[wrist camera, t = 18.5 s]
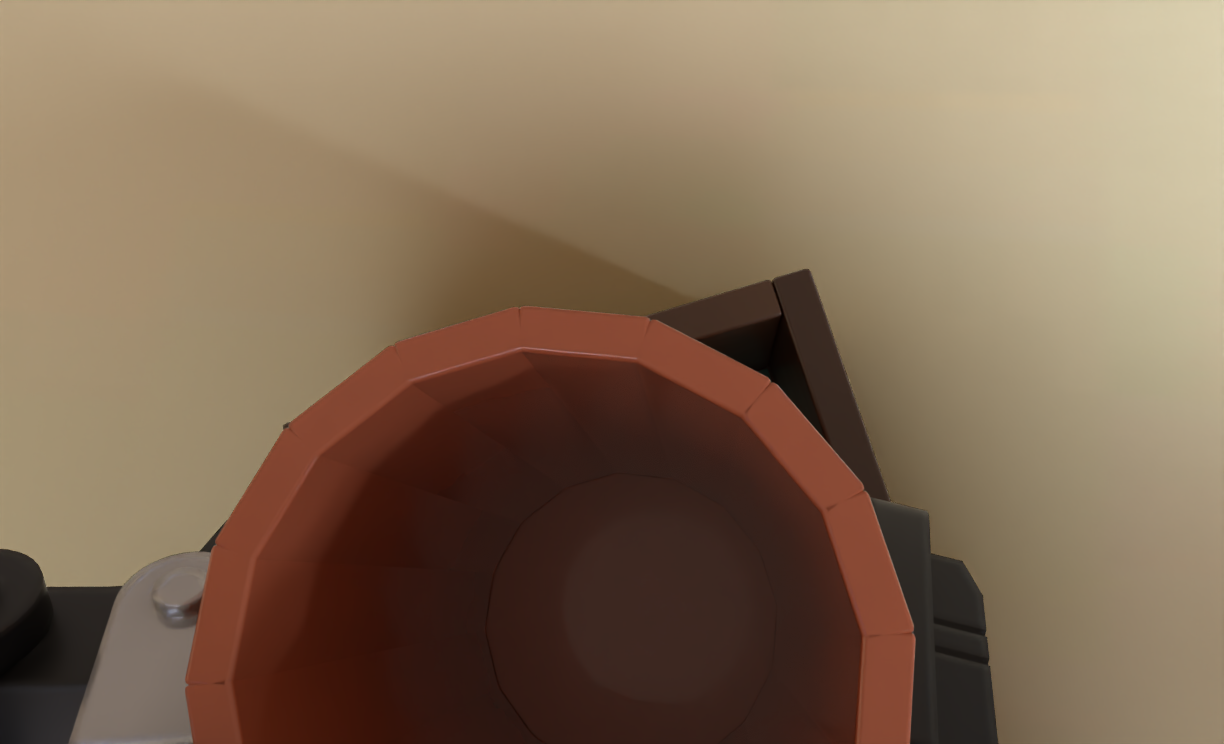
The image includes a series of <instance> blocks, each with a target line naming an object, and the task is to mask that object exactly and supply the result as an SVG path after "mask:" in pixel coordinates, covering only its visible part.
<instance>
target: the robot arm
mask: <svg viewBox="0 0 1224 744" xmlns="http://www.w3.org/2000/svg"><path fill="white" fill-rule="evenodd" d="M870 498H871V501H872V504H873V507H874V510H875V513H876V516H877V519H878V522H879V525H880V528H881V531H882V533H883V536H884V539H885V542H886V545H887V548H888V551H889V554H890V557H891V560H892V563H893V566H894V569H895V571H896V574H897V577H898V580H899V583H900V586H901V589H902V592H903V595H904V598H905V601H906V604H907V607H908V609H909V612H910V615H911V618H912V621H913V624H914V631H913V632H912V633H913V634H914V635H915V638H916V647H915V665H914V684H913V702H912V721H911V740H910V744H998V739H997V729H996V719H995V710H994V700H993V690H992V681H991V671H990V666H988V661H989V652H988V642H987V637H985V633H986V623H985V613H984V603H983V595H982V594H981V592H980V590H979V589H978V587H977V585H976V583H975V582H974V580H973V578H972V577H971V575H970V573H969V572H968V570H967V568H966V567H965V565H964V563H963V561H959V560H955V559H951V558H947V557H943V556H939V555H935V554H931V550H930V527H929V515H928V512H927V511H926V510H922V509H918V508H913V507H909V506H905V505H901V504H897V503H893V502H888V501H884V500H880V499H876V498H872V497H870ZM226 522H227V521H226ZM226 522H225V523H226ZM225 523H224V524H223V525H222V527H221V528H220V529H219V530H218V531H217V532H216V533H215V534H214V536H213V537H212V538H211V539H210V540H209V541H208V542H207V544H206V545H205V546H204V547H203V548H202V549H201V550H200V551H199V552H187V553H181V554H176V555H171V556H168V557H165V558H162V559H160V560H158V561H155V562H153V563H151V564H149V565H147V566H146V567H144V568H142V569H141V570H139V571H138V572H137V573H136V574H134V575H133V576H132V577H131V578H130V579H129V580H128V581H127V582H126V583H125V584H124V585H123V586H115V587H46V584H45V580H44V577H43V574H42V571H41V569H40V567H39V565H38V564H37V563H36V562H35V561H34V560H33V559H32V558H30V557H28V556H27V555H25V554H22V553H19V552H16V551H11V550H5V549H0V744H193V739H192V732H191V726H190V720H189V714H188V708H187V701H186V695H185V687H186V686H188V684H186V682H185V678H186V673H187V668H188V663H189V658H190V653H191V648H192V643H193V638H194V633H195V628H196V624H197V619H198V614H199V609H200V604H201V599H202V594H203V589H204V584H205V579H206V574H207V569H208V564H209V560H210V555H211V550H212V548H213V546H215V545H217V544H216V543H215V540H216V538H217V536H218V535H219V533H220V531H221V530H222V528H223V527H224V525H225Z"/></svg>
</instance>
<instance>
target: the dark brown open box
mask: <svg viewBox="0 0 1224 744" xmlns="http://www.w3.org/2000/svg"><path fill="white" fill-rule="evenodd" d="M645 317H648V318H649V319H650V321H651V320H658V321H660V322H662V323H664V324H666V325H668V326H670V327H672V328H674V329H676V330H678V331H680V332H681V333H683V334H685V335H687V336H689V337H691V338H693V339H695V340H697V341H699V342H701V343H703V344H705V345H707V346H709V347H711V348H712V349H714V350H716V351H718V352H720V353H722V354H724V355H726V356H728V357H730V358H732V359H734V360H736V361H738V362H740V363H742V364H744V365H745V366H747V367H749V368H751V369H753V370H755V371H757V372H759V373H761V374H763V375H765V376H767V377H768V378H769V379H770V380H771V383H772V382H774V383H775V384H777V385H778V386H779V387H780V388H781V389H782V390H783V392H784V393H785V394H786V395H787V396H788V397H789V399H790V400H791V401H792V402H793V403H794V404H795V405H796V407H797V408H798V409H799V410H800V411H801V412H802V414H803V415H804V416H805V417H806V418H807V419H808V421H809V422H810V423H811V424H812V425H813V426H814V428H815V429H816V430H817V431H818V432H819V433H820V435H821V436H822V437H823V438H824V439H825V440H826V441H827V443H828V444H829V445H830V446H831V447H832V448H833V450H834V451H835V452H836V453H837V454H838V455H839V457H840V458H841V459H842V460H843V461H844V462H845V464H846V465H847V466H848V467H849V468H850V469H851V471H852V472H853V473H854V474H855V475H856V476H857V477H858V479H859V480H860V481H861V482H862V483H863V486H864V490H863V491H866V492H867V493H868V494H869V495H870V497H872V498H876V499H880V500H884V501H888V502H891V500H890V497H889V494H888V491H887V489H886V486H885V483H884V480H883V477H882V474H881V471H880V469H879V466H878V463H877V460H876V457H875V454H874V451H873V448H872V446H871V443H870V440H869V437H868V434H867V431H866V428H865V425H864V423H863V420H862V417H861V414H860V411H859V408H858V405H857V402H856V400H855V397H854V394H853V391H852V388H851V385H850V382H849V380H848V377H847V374H846V371H845V368H844V365H843V362H842V359H841V357H840V354H839V351H838V348H837V345H836V342H835V339H834V336H833V334H832V331H831V328H830V325H829V322H828V319H827V316H826V314H825V311H824V308H823V305H822V302H821V299H820V296H819V293H818V291H817V288H816V285H815V282H814V279H813V276H812V273H811V271H810V270H809V269H803V270H799V271H796V272H793V273H789V274H786V275H782V276H779V277H776V278H774V279H773V280H772V282H771V281H770V280H765V281H761V282H758V283H755V284H751V285H748V286H745V287H741V288H738V289H735V290H731V291H728V292H724V293H721V294H718V295H714V296H711V297H708V298H704V299H701V300H698V301H694V302H691V303H687V304H684V305H681V306H677V307H674V308H671V309H667V310H664V311H661V312H657V313H654V314H651V315H647V316H645ZM289 423H290V422H289ZM289 423H286V424H285V425H283V430H284V429H285V428H289Z"/></svg>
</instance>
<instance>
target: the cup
mask: <svg viewBox="0 0 1224 744" xmlns="http://www.w3.org/2000/svg"><path fill="white" fill-rule="evenodd" d="M863 490H864V486H863V483H862V482H861V481H860V480H859V479H858V477H857V476H856V475H855V474H854V473H853V472H852V471H851V469H850V468H849V467H848V466H847V465H846V464H845V462H844V461H843V460H842V459H841V458H840V457H839V455H838V454H837V453H836V452H835V451H834V450H833V448H832V447H831V446H830V445H829V444H828V443H827V441H826V440H825V439H824V438H823V437H822V436H821V435H820V433H819V432H818V431H817V430H816V429H815V428H814V426H813V425H812V424H811V423H810V422H809V421H808V419H807V418H806V417H805V416H804V415H803V414H802V412H801V411H800V410H799V409H798V408H797V407H796V405H795V404H794V403H793V402H792V401H791V400H790V399H789V397H788V396H787V395H786V394H785V393H784V392H783V390H782V389H781V388H780V387H779V386H778V385H777V384H775V383H774V382H772V383H771V380H770V379H769V378H768V377H767V376H765V375H763V374H761V373H759V372H757V371H755V370H753V369H751V368H749V367H747V366H745V365H744V364H742V363H740V362H738V361H736V360H734V359H732V358H730V357H728V356H726V355H724V354H722V353H720V352H718V351H716V350H714V349H712V348H711V347H709V346H707V345H705V344H703V343H701V342H699V341H697V340H695V339H693V338H691V337H689V336H687V335H685V334H683V333H681V332H680V331H678V330H676V329H674V328H672V327H670V326H668V325H666V324H664V323H662V322H660V321H658V320H651V321H650V319H649V318H648V317H645V316H634V315H623V314H612V313H601V312H590V311H579V310H568V309H557V308H546V307H535V306H522V307H521V308H520V309H519V307H512V308H508V309H505V310H501V311H498V312H495V313H491V314H488V315H485V316H481V317H478V318H475V319H471V320H468V321H465V322H461V323H458V324H454V325H451V326H448V327H444V328H441V329H438V330H434V331H431V332H428V333H424V334H421V335H417V336H414V337H411V338H407V339H404V340H401V341H398V342H396V343H395V346H393V345H391V346H388V347H387V348H386V349H384V350H383V351H382V352H380V353H379V354H378V355H377V356H375V357H374V358H373V359H371V360H370V361H369V362H368V363H366V364H365V365H364V366H362V367H361V368H360V369H358V370H357V371H356V372H355V373H353V374H352V375H351V376H349V377H348V378H347V379H346V380H344V381H343V382H342V383H340V384H339V385H338V386H336V387H335V388H334V389H333V390H331V391H330V392H329V393H327V394H326V395H325V396H324V397H322V398H321V399H320V400H318V401H317V402H316V403H315V404H313V405H312V406H311V407H309V408H308V409H307V410H305V411H304V412H303V413H302V414H300V415H299V416H298V417H296V418H295V419H294V420H293V421H291V422H290V423H289V428H285V429H284V430H283V431H282V433H281V434H280V436H279V438H278V439H277V441H276V443H275V444H274V446H273V447H272V449H271V451H270V452H269V454H268V455H267V457H266V459H265V460H264V462H263V464H262V465H261V467H260V468H259V470H258V472H257V473H256V475H255V476H254V478H253V480H252V481H251V483H250V485H249V486H248V488H247V489H246V491H245V493H244V494H243V496H242V498H241V499H240V501H239V502H238V504H237V506H236V507H235V509H234V510H233V512H232V514H231V515H230V517H229V519H228V520H227V522H226V523H225V525H224V527H223V528H222V530H221V531H220V533H219V535H218V536H217V538H216V540H215V543H216V544H217V545H215V546H213V548H212V550H211V555H210V560H209V564H208V569H207V574H206V579H205V584H204V589H203V594H202V599H201V604H200V609H199V614H198V619H197V624H196V628H195V633H194V638H193V643H192V648H191V653H190V658H189V663H188V668H187V673H186V678H185V682H186V684H188V686H186V687H185V695H186V701H187V708H188V714H189V720H190V726H191V732H192V739H193V744H910V740H911V721H912V702H913V684H914V665H915V647H916V638H915V635H914V634H913V633H912V632H913V631H914V624H913V621H912V618H911V615H910V612H909V609H908V607H907V604H906V601H905V598H904V595H903V592H902V589H901V586H900V583H899V580H898V577H897V574H896V571H895V569H894V566H893V563H892V560H891V557H890V554H889V551H888V548H887V545H886V542H885V539H884V536H883V533H882V531H881V528H880V525H879V522H878V519H877V516H876V513H875V510H874V507H873V504H872V501H871V498H870V495H869V494H868V493H867V492H866V491H863Z"/></svg>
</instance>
